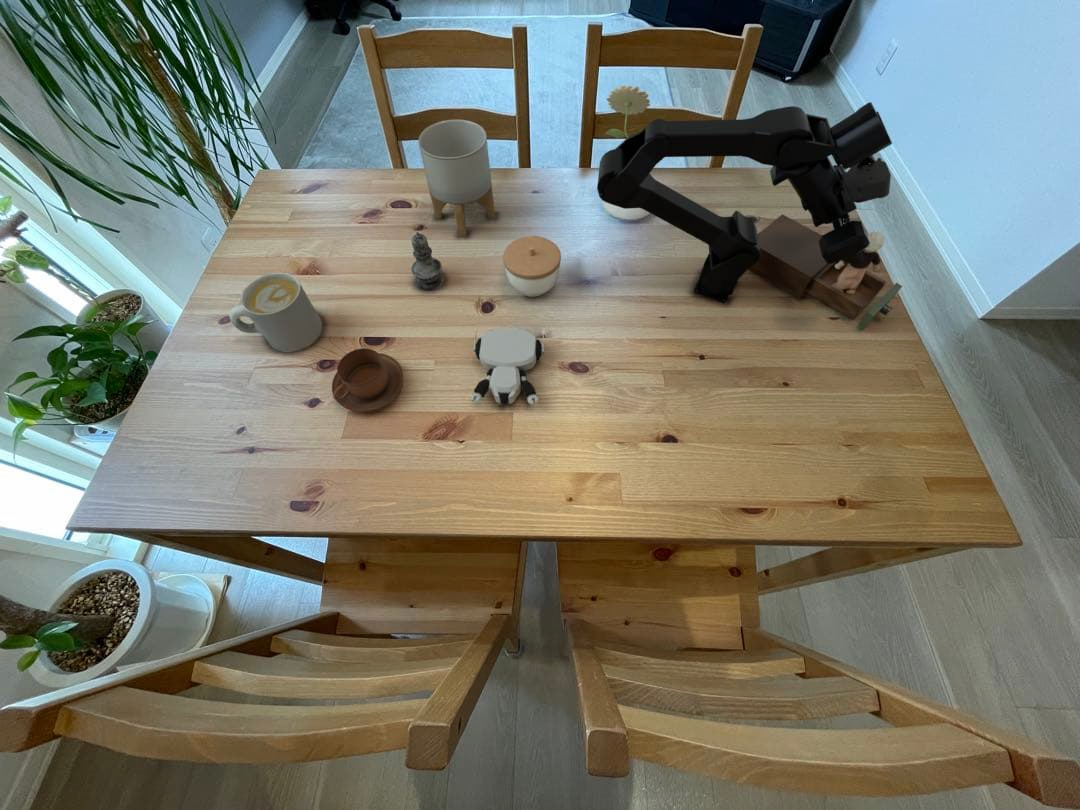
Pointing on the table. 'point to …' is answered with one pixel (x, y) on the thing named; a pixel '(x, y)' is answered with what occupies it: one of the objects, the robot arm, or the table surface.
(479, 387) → the robot toy
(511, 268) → the trinket box
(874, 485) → the table surface
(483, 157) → the planter
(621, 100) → the flower in vase
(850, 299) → the drawer
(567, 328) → the table surface
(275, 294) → the coffee mug
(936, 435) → the table surface
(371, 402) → the cup and saucer
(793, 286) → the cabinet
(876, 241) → the grandmother figurine
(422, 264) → the stone statuette
